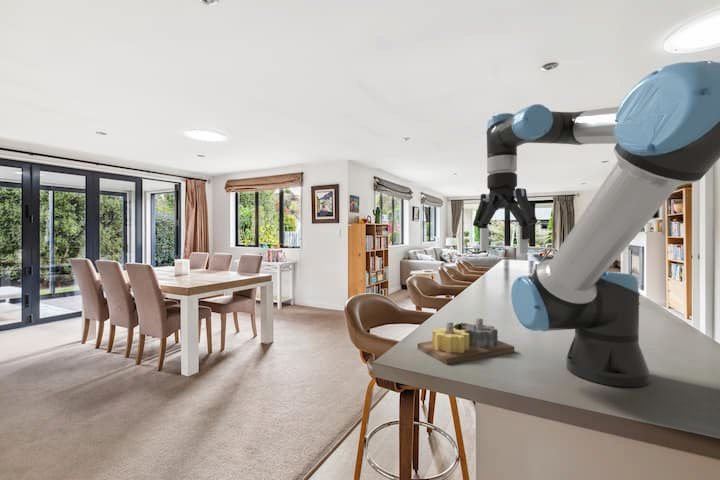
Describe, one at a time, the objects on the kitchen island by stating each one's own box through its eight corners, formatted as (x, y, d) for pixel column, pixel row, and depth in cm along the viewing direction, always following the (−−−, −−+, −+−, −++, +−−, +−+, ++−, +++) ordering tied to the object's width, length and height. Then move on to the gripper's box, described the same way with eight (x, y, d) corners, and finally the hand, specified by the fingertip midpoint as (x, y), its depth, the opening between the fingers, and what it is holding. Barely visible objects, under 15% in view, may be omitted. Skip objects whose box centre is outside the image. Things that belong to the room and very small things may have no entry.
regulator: (483, 332, 114) (445, 329, 109) (487, 322, 113) (449, 318, 108) (498, 346, 107) (458, 343, 102) (502, 335, 106) (462, 332, 101)
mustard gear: (447, 355, 86) (447, 339, 86) (425, 344, 94) (425, 330, 94) (476, 350, 90) (476, 334, 89) (453, 340, 98) (453, 326, 98)
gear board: (514, 351, 92) (514, 322, 92) (446, 364, 84) (446, 331, 84) (479, 338, 104) (479, 312, 104) (417, 348, 96) (417, 319, 96)
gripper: (553, 165, 84) (553, 253, 84) (480, 181, 107) (480, 249, 107) (530, 163, 81) (531, 253, 81) (460, 180, 104) (461, 250, 104)
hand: (502, 251), depth 94 cm, fingers open, 13 cm apart
